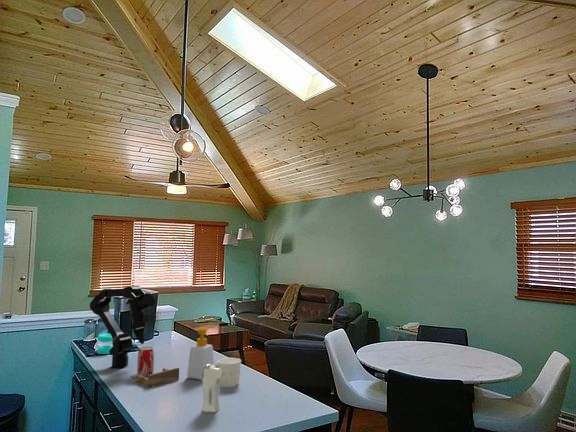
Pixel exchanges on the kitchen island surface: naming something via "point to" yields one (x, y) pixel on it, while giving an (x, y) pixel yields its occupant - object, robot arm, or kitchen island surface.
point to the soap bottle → (200, 355)
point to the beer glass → (211, 387)
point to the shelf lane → (159, 378)
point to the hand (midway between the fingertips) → (142, 343)
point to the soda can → (145, 361)
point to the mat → (137, 374)
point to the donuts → (104, 339)
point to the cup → (229, 371)
